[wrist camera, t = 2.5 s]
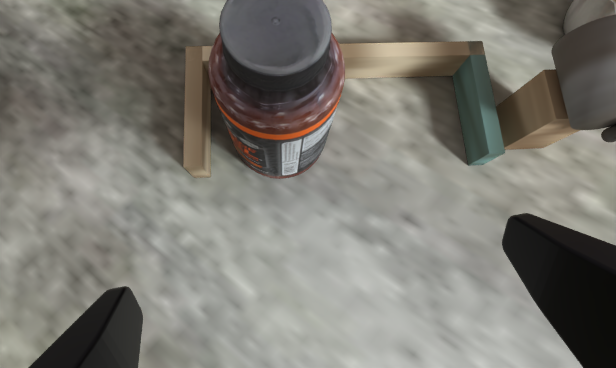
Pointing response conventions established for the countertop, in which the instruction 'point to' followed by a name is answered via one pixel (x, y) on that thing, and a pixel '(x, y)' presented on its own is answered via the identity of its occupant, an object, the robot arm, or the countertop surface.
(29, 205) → the countertop surface
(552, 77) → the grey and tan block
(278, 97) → the supplement bottle
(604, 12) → the cupcake
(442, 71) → the frame
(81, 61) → the countertop surface
